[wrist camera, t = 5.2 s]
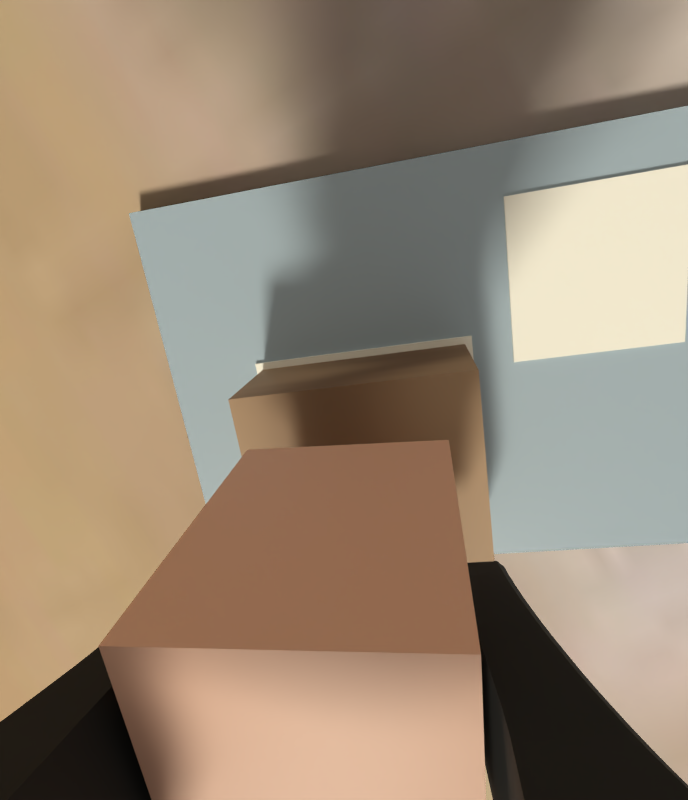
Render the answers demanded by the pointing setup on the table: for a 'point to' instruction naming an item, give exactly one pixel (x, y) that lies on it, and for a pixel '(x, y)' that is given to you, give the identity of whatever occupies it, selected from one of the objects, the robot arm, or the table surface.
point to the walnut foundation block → (379, 416)
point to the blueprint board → (466, 311)
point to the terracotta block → (310, 636)
